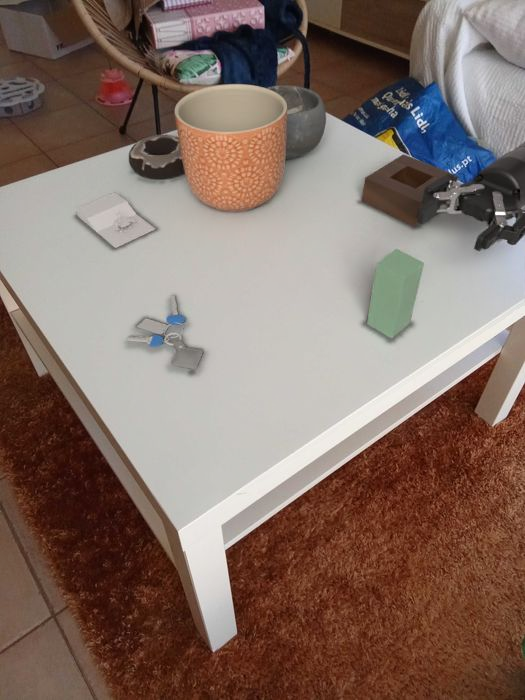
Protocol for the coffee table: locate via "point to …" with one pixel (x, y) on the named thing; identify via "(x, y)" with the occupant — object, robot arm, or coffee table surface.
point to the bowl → (302, 119)
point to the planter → (233, 144)
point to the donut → (157, 157)
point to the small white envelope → (114, 219)
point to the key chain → (184, 354)
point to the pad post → (394, 292)
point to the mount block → (401, 187)
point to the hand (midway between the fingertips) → (448, 230)
